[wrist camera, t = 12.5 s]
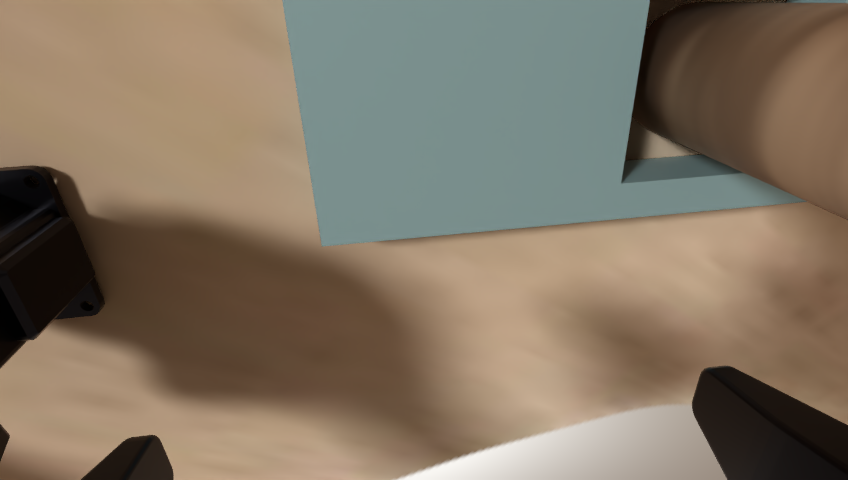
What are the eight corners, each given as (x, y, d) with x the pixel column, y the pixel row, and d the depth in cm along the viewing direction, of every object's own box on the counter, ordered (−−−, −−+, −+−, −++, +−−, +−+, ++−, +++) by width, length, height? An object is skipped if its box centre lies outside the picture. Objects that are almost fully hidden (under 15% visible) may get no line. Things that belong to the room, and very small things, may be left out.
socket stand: (326, 218, 20) (321, 246, 18) (283, -61, 15) (270, -71, 13) (767, 180, 22) (813, 201, 20) (847, -82, 17) (919, -93, 15)
